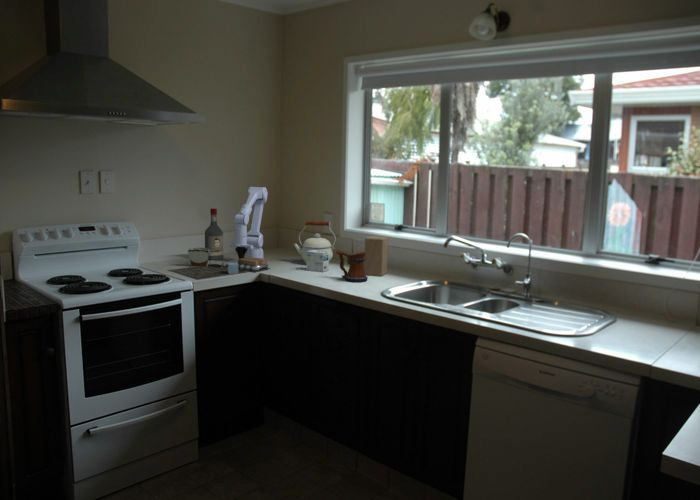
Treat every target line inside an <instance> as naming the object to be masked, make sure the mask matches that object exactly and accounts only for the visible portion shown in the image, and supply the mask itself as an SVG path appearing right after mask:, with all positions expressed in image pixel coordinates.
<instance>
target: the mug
mask: <svg viewBox="0 0 700 500" xmlns="http://www.w3.org/2000/svg"><path fill="white" fill-rule="evenodd" d="M336 254H337V255H339V260H340V263H339V269H340V270H341V271H343V274H342V275H341V278H342V279H344V280H345V281H346V282H351V283H366V282H367V281H368V279H369V278H368V275H366V273H365V270H364V260H365V254H366V252H365V251H359V252H353V253H349V254H348V253H346V252H343V251H342V250H339V249H337V250H336ZM344 256H345V257H347V259H346V263H347V264H348V265H349V266H348V267H349V268H348V270H347V269H346V268H345V259H344Z"/></svg>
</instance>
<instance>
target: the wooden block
mask: <svg viewBox="0 0 700 500" xmlns="http://www.w3.org/2000/svg"><path fill="white" fill-rule="evenodd" d="M388 248H389V237H388V236H381V235H380V236H379V235H375V236H374V235H370V236H367V237H365V238H364V252H366V254H365V257H364V258H365V260H364V270H365V273H366V276H370V275H372V277H383V276H385V275H386V274H387V273H388ZM384 274H385V275H384Z"/></svg>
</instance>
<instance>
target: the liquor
mask: <svg viewBox="0 0 700 500" xmlns="http://www.w3.org/2000/svg"><path fill="white" fill-rule="evenodd" d="M217 214H218V209H217V208H213V207H212V208H210V223H209V226H208V227H206V229H205V231H204V248H208V249H209V250H210V253H209V255H208V261H211V260H214V261H222V260H223V259H224V232H223V230H222V229H221V227H219V225H218V222H217V221H218V219H217V217H218V216H217ZM221 259H222V260H221Z"/></svg>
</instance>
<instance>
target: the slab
mask: <svg viewBox="0 0 700 500" xmlns="http://www.w3.org/2000/svg"><path fill="white" fill-rule="evenodd" d="M237 260H238V264H243V265H250V266H259V265H263V264H268V258H263V259H262V258H255V257H247V256H246V257H244V258H242V259H239V258H238V259H237Z"/></svg>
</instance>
